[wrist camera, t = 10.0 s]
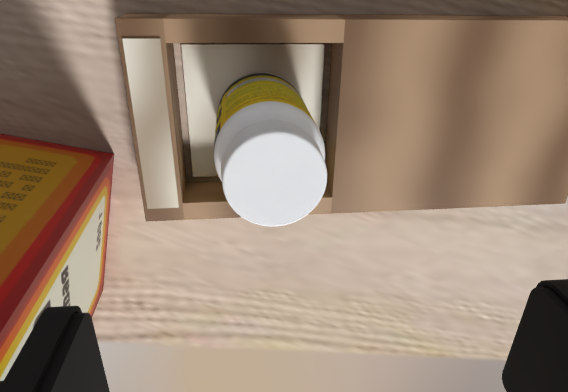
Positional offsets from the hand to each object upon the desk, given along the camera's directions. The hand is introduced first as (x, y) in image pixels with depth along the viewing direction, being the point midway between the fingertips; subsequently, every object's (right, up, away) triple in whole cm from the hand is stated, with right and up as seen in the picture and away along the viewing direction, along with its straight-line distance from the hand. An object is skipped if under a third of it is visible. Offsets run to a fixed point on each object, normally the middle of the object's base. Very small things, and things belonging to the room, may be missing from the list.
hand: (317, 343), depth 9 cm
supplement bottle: (-2, +8, +14) cm, 16 cm away
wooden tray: (+4, +8, +15) cm, 17 cm away
